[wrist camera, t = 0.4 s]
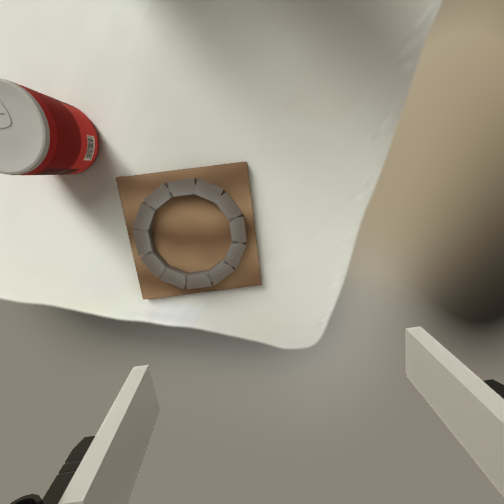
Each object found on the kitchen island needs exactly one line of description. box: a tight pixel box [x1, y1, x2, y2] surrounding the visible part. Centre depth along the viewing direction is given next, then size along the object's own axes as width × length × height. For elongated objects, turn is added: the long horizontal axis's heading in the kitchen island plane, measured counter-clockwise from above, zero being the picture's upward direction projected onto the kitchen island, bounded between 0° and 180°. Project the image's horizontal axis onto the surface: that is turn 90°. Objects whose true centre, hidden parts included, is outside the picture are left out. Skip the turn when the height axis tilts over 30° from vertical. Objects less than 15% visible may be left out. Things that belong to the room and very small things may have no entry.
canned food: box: [0, 79, 99, 175], centre depth 32 cm, size 8×8×11 cm
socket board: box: [116, 162, 261, 299], centre depth 39 cm, size 16×16×3 cm
